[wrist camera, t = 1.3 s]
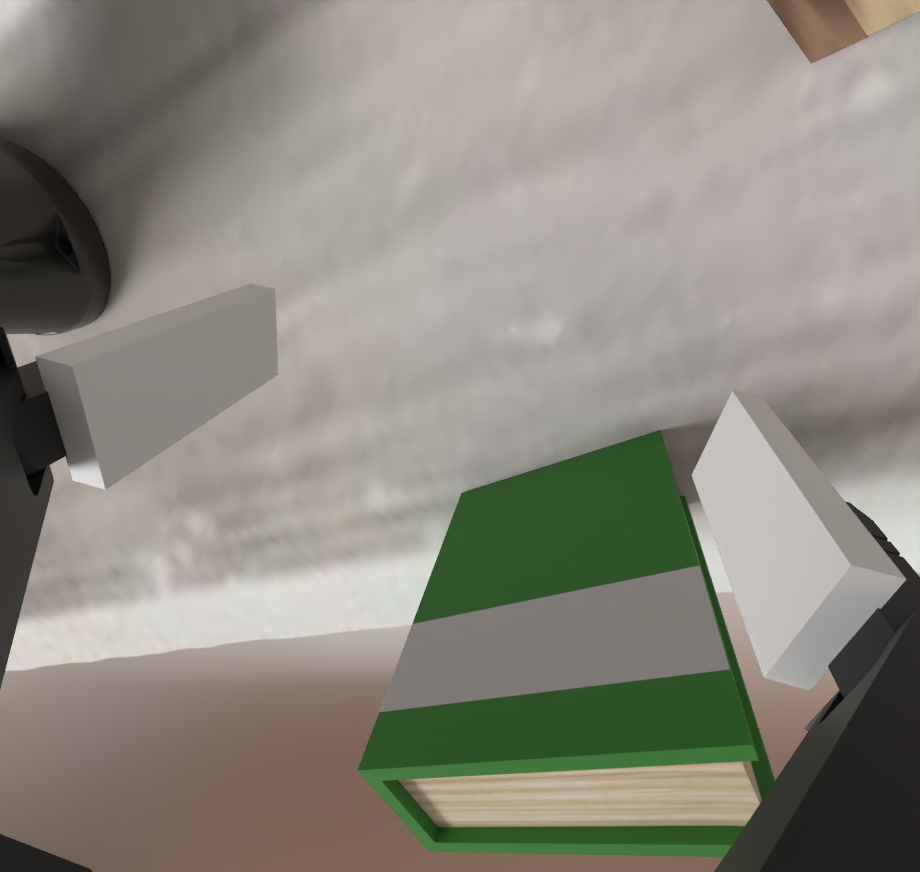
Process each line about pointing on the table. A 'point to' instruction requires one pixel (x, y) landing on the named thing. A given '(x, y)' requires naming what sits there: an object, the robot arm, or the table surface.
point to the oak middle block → (881, 12)
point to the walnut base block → (819, 25)
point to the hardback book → (571, 675)
